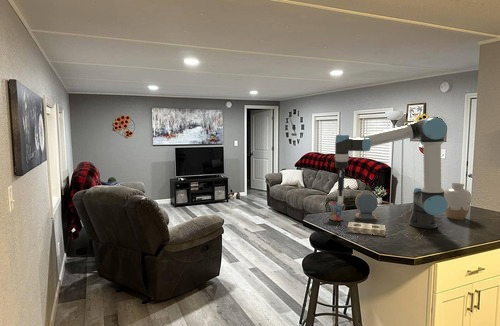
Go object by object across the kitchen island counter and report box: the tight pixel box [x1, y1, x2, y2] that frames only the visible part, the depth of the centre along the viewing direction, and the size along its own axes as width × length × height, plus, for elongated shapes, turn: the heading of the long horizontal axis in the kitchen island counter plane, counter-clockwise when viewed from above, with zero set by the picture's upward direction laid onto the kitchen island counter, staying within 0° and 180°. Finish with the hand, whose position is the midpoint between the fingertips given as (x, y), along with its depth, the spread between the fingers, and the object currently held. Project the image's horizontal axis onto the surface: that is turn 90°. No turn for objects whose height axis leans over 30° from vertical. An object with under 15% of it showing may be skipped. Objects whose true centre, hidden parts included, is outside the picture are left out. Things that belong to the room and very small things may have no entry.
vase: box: [444, 182, 472, 221], centre depth 222 cm, size 16×16×23 cm
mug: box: [328, 201, 346, 222], centre depth 217 cm, size 12×9×11 cm
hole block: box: [347, 221, 386, 237], centre depth 193 cm, size 20×11×3 cm, turn 70°
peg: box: [337, 200, 344, 207], centre depth 198 cm, size 3×3×10 cm
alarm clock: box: [354, 189, 379, 220], centre depth 224 cm, size 14×10×18 cm
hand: (340, 200), depth 198 cm, fingers closed on peg, 2 cm apart
